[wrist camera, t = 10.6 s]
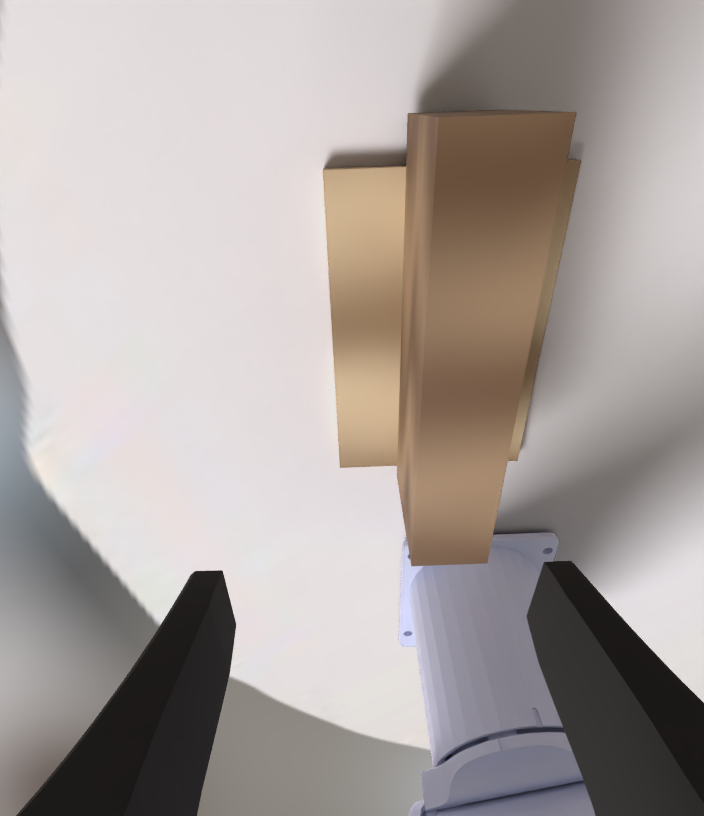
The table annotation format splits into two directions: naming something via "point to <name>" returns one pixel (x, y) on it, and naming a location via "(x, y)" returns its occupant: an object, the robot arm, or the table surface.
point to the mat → (392, 306)
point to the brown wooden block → (469, 313)
